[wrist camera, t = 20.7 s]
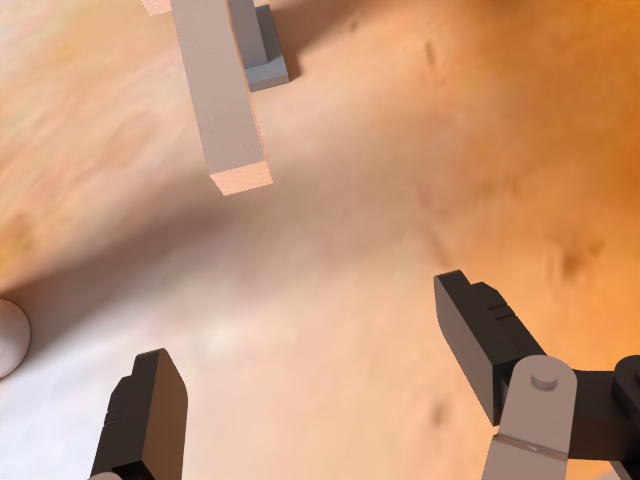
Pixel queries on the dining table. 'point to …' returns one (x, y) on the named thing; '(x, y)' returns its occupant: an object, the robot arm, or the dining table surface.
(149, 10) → the block
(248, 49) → the stand
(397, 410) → the dining table surface
